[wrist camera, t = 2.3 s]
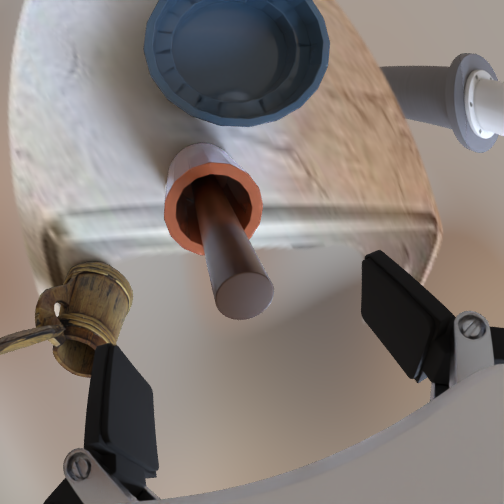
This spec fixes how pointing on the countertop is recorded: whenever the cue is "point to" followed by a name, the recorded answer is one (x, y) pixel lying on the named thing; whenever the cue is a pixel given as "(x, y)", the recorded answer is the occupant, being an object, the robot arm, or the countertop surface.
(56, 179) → the countertop surface
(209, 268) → the stick
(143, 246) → the countertop surface
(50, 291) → the wooden mug
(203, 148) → the holder
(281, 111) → the bowl
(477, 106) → the robot arm
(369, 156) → the countertop surface
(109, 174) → the countertop surface
